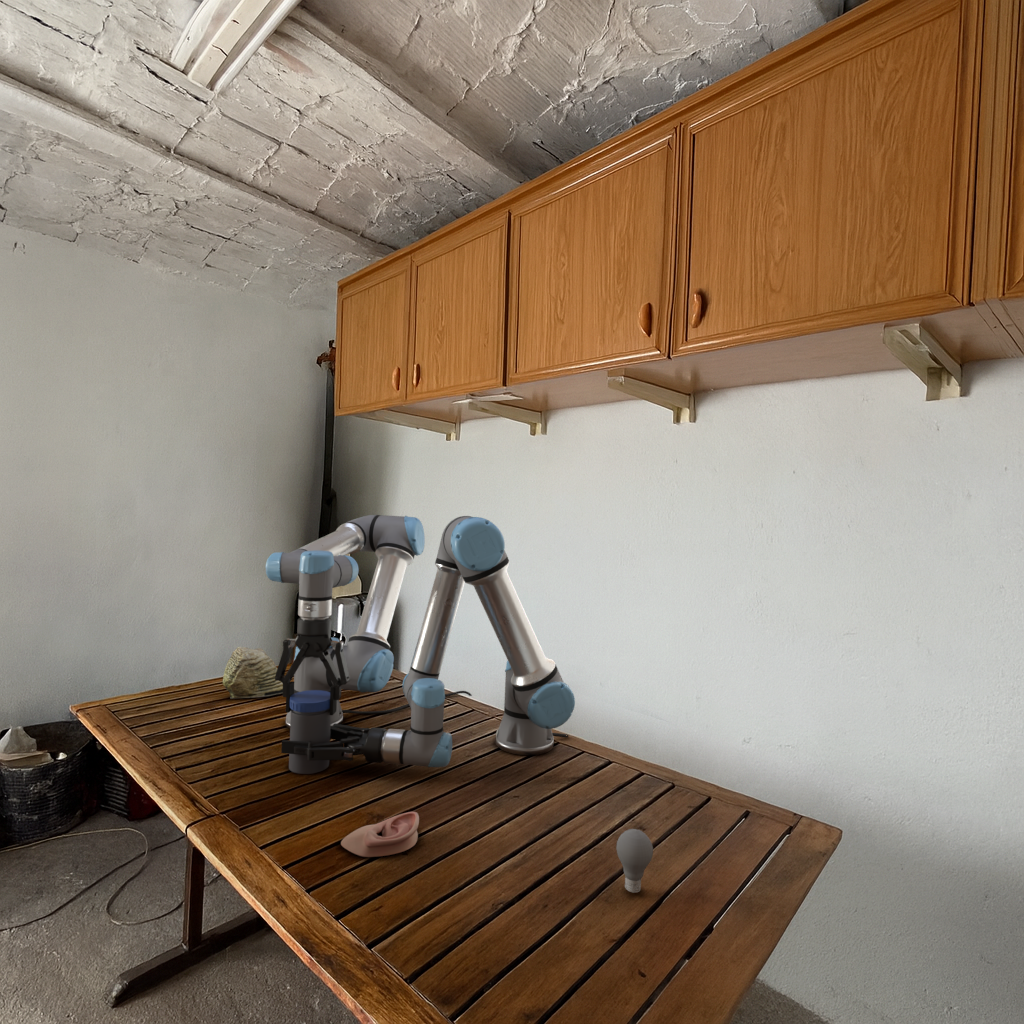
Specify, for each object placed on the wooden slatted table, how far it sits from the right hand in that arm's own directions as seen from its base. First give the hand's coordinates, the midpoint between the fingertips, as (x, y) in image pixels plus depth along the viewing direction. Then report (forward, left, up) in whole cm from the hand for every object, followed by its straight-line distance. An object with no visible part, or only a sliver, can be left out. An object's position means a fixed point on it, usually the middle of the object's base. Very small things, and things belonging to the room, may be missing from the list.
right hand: (291, 738), depth 149 cm
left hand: (-4, +2, +7) cm, 8 cm away
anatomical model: (-15, +39, -6) cm, 43 cm away
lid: (-4, +2, +10) cm, 11 cm away
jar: (-4, +2, -6) cm, 8 cm away
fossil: (+10, -56, -6) cm, 57 cm away
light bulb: (-53, +66, -6) cm, 85 cm away
